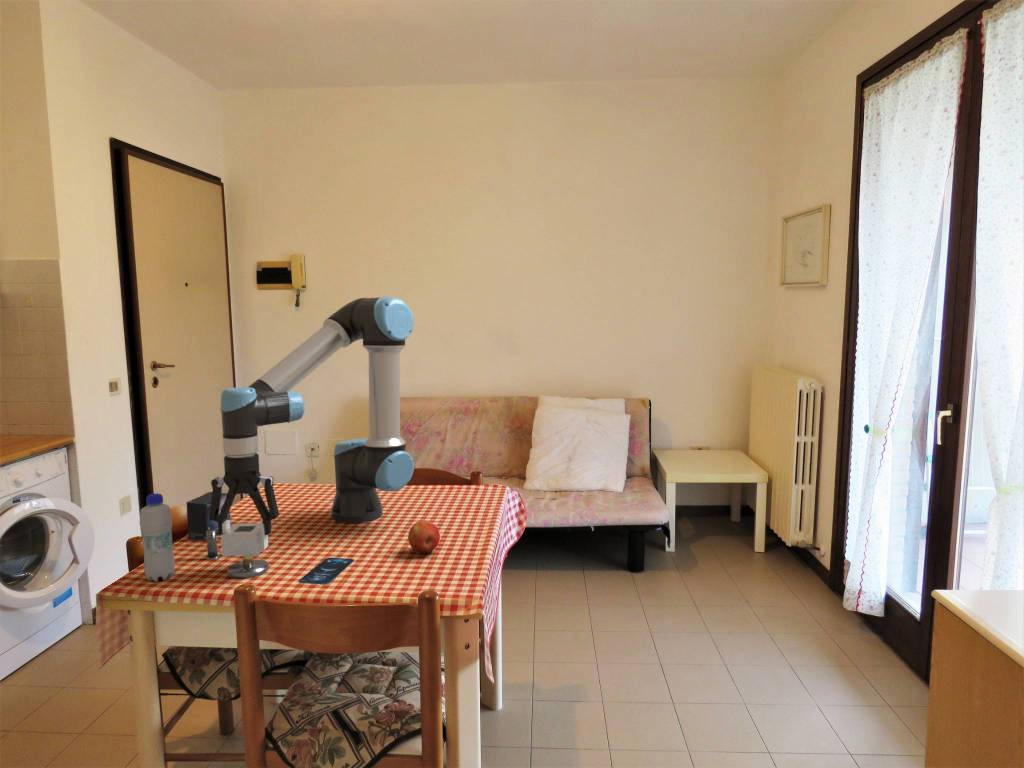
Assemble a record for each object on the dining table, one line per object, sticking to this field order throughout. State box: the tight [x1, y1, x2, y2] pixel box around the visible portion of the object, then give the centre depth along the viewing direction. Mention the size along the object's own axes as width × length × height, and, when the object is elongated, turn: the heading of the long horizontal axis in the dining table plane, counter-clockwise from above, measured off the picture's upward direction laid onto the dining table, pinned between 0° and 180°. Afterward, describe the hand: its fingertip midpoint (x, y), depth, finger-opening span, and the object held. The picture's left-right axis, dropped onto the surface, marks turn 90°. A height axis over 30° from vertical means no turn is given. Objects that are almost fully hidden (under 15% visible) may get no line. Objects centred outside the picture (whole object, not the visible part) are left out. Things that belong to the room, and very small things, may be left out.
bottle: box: [139, 493, 176, 582], centre depth 151 cm, size 7×7×20 cm
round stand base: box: [227, 555, 269, 580], centre depth 155 cm, size 9×9×6 cm
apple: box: [407, 519, 441, 555], centre depth 165 cm, size 8×8×8 cm
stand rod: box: [205, 529, 221, 561], centre depth 163 cm, size 3×3×7 cm
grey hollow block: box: [220, 522, 270, 557], centre depth 154 cm, size 8×8×5 cm
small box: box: [185, 491, 232, 541], centre depth 181 cm, size 11×6×10 cm, turn 168°
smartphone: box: [298, 557, 355, 585], centre depth 155 cm, size 8×1×15 cm
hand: (246, 548), depth 155 cm, fingers closed on grey hollow block, 8 cm apart
